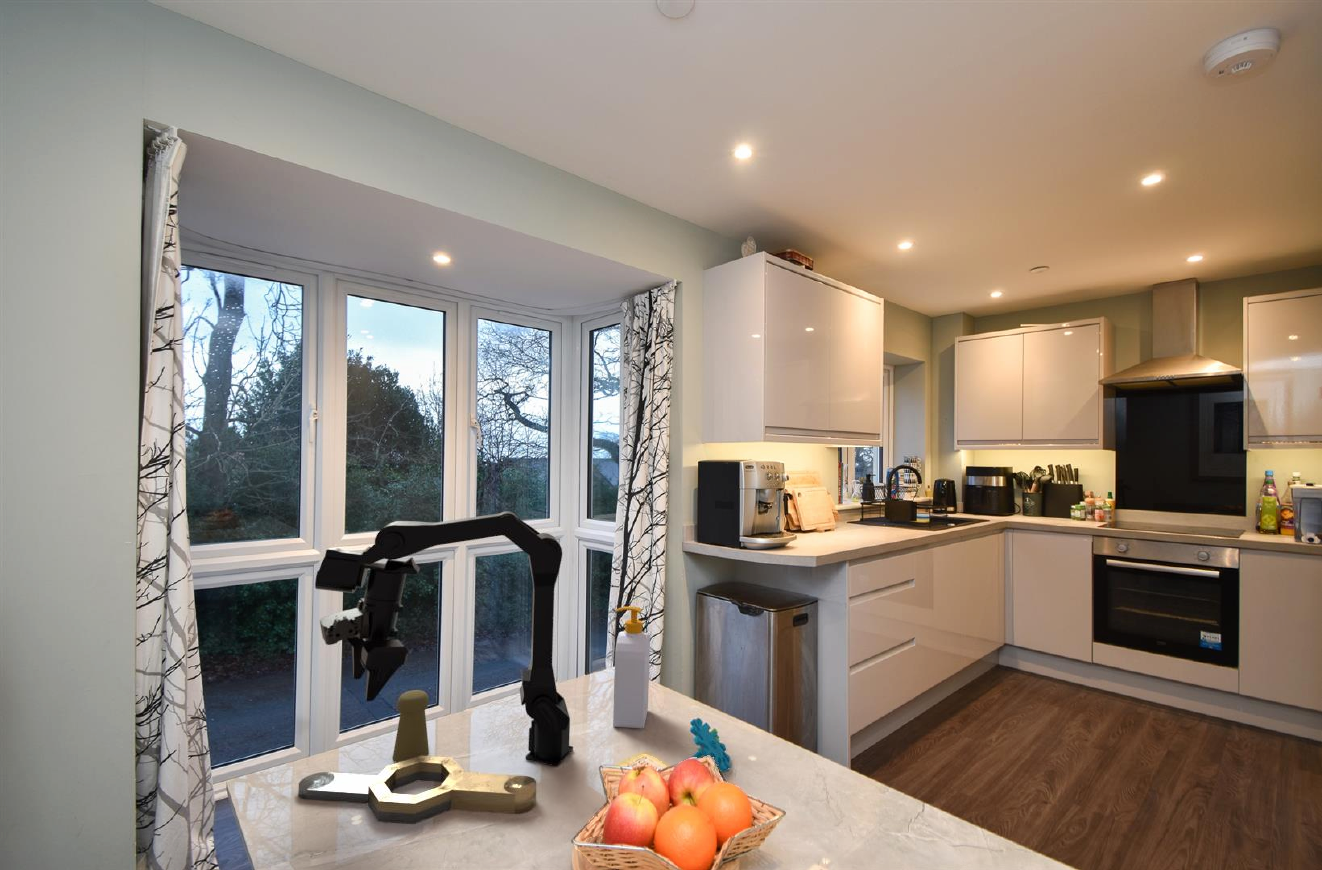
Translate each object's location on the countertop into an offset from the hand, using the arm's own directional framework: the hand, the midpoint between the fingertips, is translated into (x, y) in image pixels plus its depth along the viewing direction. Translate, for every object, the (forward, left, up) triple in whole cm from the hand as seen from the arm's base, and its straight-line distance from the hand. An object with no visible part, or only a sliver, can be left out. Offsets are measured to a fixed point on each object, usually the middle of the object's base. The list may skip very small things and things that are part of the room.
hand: (362, 689), depth 99 cm
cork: (-3, -9, -15) cm, 17 cm away
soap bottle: (-34, -37, -15) cm, 52 cm away
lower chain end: (-7, +3, -14) cm, 16 cm away
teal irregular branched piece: (-54, -26, -15) cm, 61 cm away
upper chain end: (-19, 0, -14) cm, 24 cm away
